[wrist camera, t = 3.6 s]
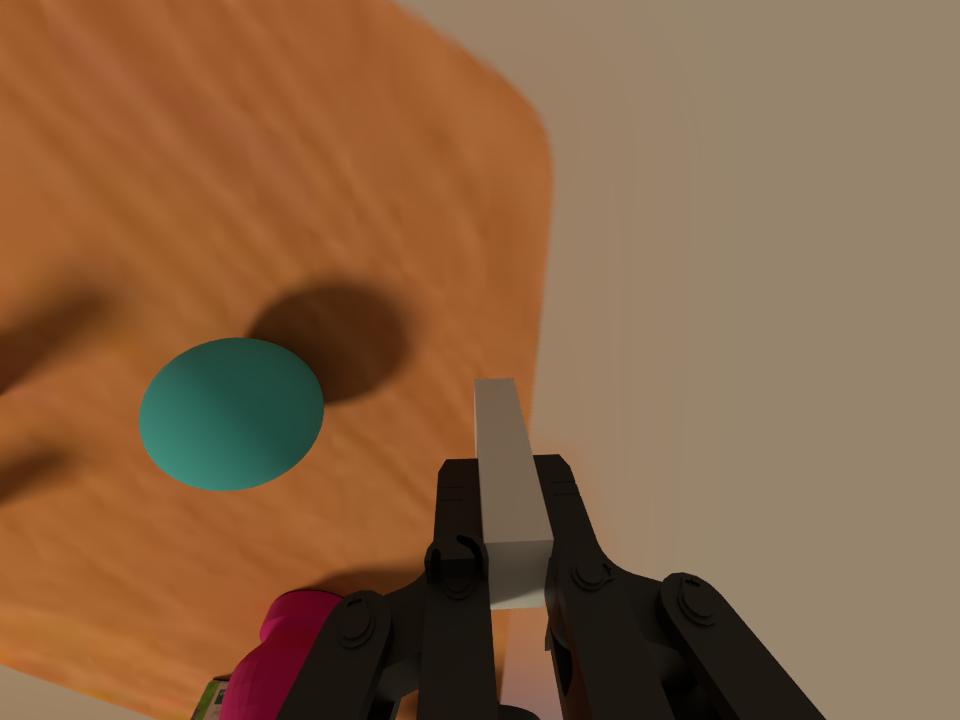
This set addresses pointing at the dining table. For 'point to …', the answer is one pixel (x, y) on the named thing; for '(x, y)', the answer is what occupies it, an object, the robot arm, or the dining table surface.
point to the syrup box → (210, 701)
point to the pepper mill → (276, 656)
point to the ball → (231, 414)
